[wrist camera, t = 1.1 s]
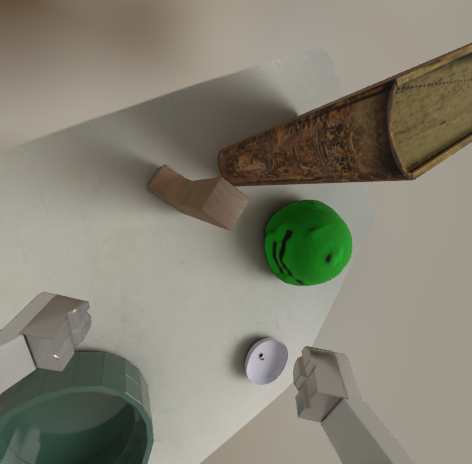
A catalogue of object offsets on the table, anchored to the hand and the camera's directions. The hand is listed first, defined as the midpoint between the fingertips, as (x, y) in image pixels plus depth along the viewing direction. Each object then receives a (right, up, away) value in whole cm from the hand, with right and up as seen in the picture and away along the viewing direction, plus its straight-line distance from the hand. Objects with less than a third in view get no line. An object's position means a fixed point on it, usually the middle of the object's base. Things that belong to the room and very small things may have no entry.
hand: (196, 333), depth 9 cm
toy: (+11, +3, +33) cm, 35 cm away
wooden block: (-7, +9, +24) cm, 27 cm away
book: (+6, +16, +29) cm, 34 cm away
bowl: (-19, -19, +23) cm, 36 cm away
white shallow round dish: (+6, -18, +34) cm, 39 cm away
